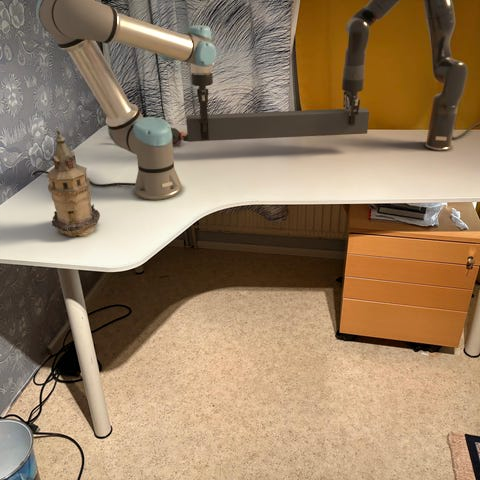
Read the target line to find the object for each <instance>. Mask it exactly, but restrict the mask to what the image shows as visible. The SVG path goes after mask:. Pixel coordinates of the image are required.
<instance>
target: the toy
mask: <svg viewBox="0 0 480 480" xmlns="http://www.w3.org/2000/svg"><path fill="white" fill-rule="evenodd" d="M171 132H172V145H173V147H174V146H178V145H179V144H180V143H181V142H185V143H187V142H188V136H187V131H180V130H178V129H177V128H175V127H171Z"/></svg>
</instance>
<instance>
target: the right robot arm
mask: <svg viewBox="0 0 480 480" xmlns="http://www.w3.org/2000/svg"><path fill="white" fill-rule="evenodd" d="M399 2H401V0H370V1H368V3H367V4H365V6H363V7H361V9H359V10H358V11H357V12H355V13H354V14H353V15H352V17H350V18H349V20H347V23H346V26H345V30H346V34H347V35H348V42H347V48H346V49H345V54H344V64H343V65H344V66H343V70H342V82H341V90H342V91H343V101H342V102H343V104H342V107H343V109H349V123H348V124H349V125H355V115H358V111H359V108H360V104H361V100H360V99H359V96H358V93H359V92H362V91H363V90H364V81H365V79H364V78H365V71H366V69H365V64H366V63H365V62H366V51H367V46H368V42H369V36H370V27H371V26H372V25H373V24H374V23H376V22H377V21H380V20H382V19H383V18H384V17H385V16H386V15H387V14H389V12H390V11H392V9H393V8H395V6H397V4H398V3H399ZM423 7H424V14H425V19H426V26H427V30H428V35H429V36H428V37H429V43H430V49H431V62H432V63H431V64H432V74H433V78H434V80H435V81H436V82H437V83H439V84H441V85H443V86H442V91H441V92H439V93H436V94H435V95H434V96H433V99H432V106H431V111H430V117H429V123H428V129H427V135H426V141H425V147H426V148H427V149H430V150H433V151H440V152H441V151H448V150H451V147H452V141H453V140H458V139H460V138H462V137H463V136H464V135H466V134H468V132H470V131H471V130H472V129H473V128H475V127H476V126H478V125H480V121H479V122H477V123H475V124H473V125H471V126H470V127H469V128H467V129H466V130H465V131H464V132H463V133H461V134H459V135H458V136H455V137H454V130H455V124H456V119H457V115H458V108H459V104H460V101H461V99H462V97H463V94H464V91H465V87H466V82H467V79H468V66H467V64H466V63H465V62H463V61H460V60H458V59H455V58H453V56H452V51H451V39H452V37H453V36H452V35H453V33H454V30H455V26H456V15H455V8H454V7H455V6H454V3H453V0H423ZM353 110H354V112H353Z"/></svg>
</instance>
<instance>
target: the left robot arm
mask: <svg viewBox="0 0 480 480" xmlns="http://www.w3.org/2000/svg"><path fill="white" fill-rule="evenodd" d="M35 15H36V19H37V22H38V24H39V25H40V26H41V28H43V30H45V31H46V32H47V33H49V34H50V35H51V36H52V38H53V40H54V41H55V43H56V44H57V46H58V47H59V49H60V50H64V51H66V52H67V53H68V54H69V56H70V58H71V59H72V61H73V62H74V64H75V66H76V68H77V69H78V71H79V73H80V74H81V75H82V78H83V79H84V81H85V83H86V84H87V86H88V87H89V89H90V90H91V92H92V94H93V95H94V97H95V99H96V100H97V102H98V104H99V105H100V107H101V109H102V110H103V113H104V114H105V115H106V117H105V125H106V126H107V132H108V137H109V138H110V139H111V141H112V142H113V143H114V144H115V145H116V146H117V147H119V148H121V149H123V150H126V151H127V152H129V153H132V154H133V155H135V156H136V161H137V175H136V179H135V182H111V183H101V184H99V183H94V182H92V181H91V180H90V184H89V185H91V186H93V187H98V188H102V187H103V188H104V187H105V188H106V187H111V186H112V187H113V186H134V193H135V195H136V196H137V197H138V198H141V199H143V200H148V201H161V200H168V199H171V198H174V197H176V196H178V195H179V194H180V193H181V192H182V183H181V180H180V177H179V176H178V173H177V171H176V169H175V161H174V160H175V159H174V158H175V157H174V146H173V145H172V132H171V128H172V126H171V124H170V123H169V122H168V121H167V120H166V119H163V118H161V117H155V116H154V117H153V116H146V117H144V116H143V114H142V113H141V110H140V109H139V107H138V105H136V104H135V103H131V102H130V100H129V99H128V96H127V95H126V93H125V92H124V89H123V88H122V86H121V84H120V82H119V80H118V79H117V77H116V75H115V73H114V72H113V69H112V68H111V66H110V65H109V63H108V61H107V59H106V57H105V55H104V53H103V52H102V50H101V48H100V46H99V45H98V43H97V42H99V43H104V44H110V43H112V42H114V43H117V44H121V45H124V46H127V47H131V48H136V49H139V50H142V51H145V52H149V53H153V54H156V55H159V58H160V59H161V60H162V61H164V62H172V61H179V62H184V63H187V64H190V78H191V79H190V80H191V85H193V86H194V87H198V88H197V89H196V94H197V98H198V99H197V101H198V104H199V115H201V121H199V123H201V140H209V134H208V115H209V114H210V113H208V104H209V88H207V87H208V86H211V85H213V83H214V79H213V78H214V77H213V75H214V74H213V73H212V72H213V66H215V61H216V58H217V49H216V47H215V45H214V44H213V43H212V41H213V39H212V30H211V28H210V26H208V25H204V24H203V25H202V24H198V25H191V26H189V27H188V31H187V32H188V33H184V34H182V33H180V32H176V31H174V30H170V29H168V28H164V27H162V26H159V25H155V24H152V23H149V22H147V21H143V20H141V19H137V18H134V17H131V16H127V15H126V14H122V13H118V10H117V9H116V8H115V7H113V6H110V5H107V4H105V3H102V2H100V1H98V0H37V2H36V8H35ZM38 173H39V174H41V173H42V174H46V175H48V173H49V171H48V170H43V169H42V170H40V169H39V170H35V171H33V172H32V174H31V175H32V176H35V175H37V174H38Z"/></svg>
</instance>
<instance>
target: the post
mask: <svg viewBox="0 0 480 480" xmlns="http://www.w3.org/2000/svg"><path fill="white" fill-rule="evenodd" d="M353 112H354V110H353ZM208 114H209V115H208V134H209V140H201V123H199V121H201V115H200V114H190V115H189V114H187V115H186V117H185V118H186V119H185V121H186V132H187V136H188V141H187V142H188V143H190V142H191V143H193V142H194V143H195V142H215V141H234V140H257V139H280V138H302V137H303V138H304V137H325V136H345V135H347V136H348V135H367V134H368V131H369V121H370V110H368V108H366V107H359V111H358V115H355V125H349V124H348V123H349V109H344V108H333V109H332V108H331V109H310V110H285V111H283V110H282V111H262V112H261V111H259V112H237V113H235V112H234V113H212V114H210V113H208Z"/></svg>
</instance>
